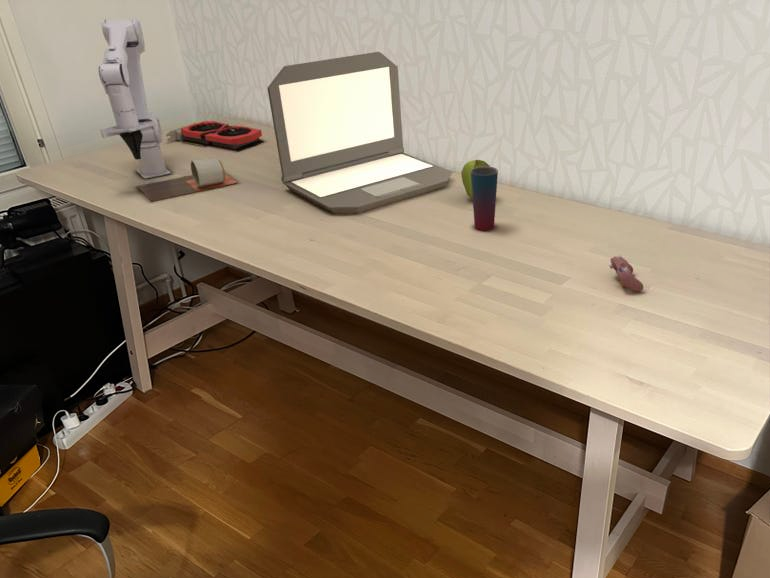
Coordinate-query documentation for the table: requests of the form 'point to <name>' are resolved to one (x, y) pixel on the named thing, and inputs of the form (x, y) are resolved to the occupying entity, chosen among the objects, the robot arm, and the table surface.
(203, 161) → the ceramic mug
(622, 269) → the reddish brown lumpy piece
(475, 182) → the cup
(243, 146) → the graphics card
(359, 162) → the laptop
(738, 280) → the table surface
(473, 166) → the apple
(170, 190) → the walnut board
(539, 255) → the table surface
